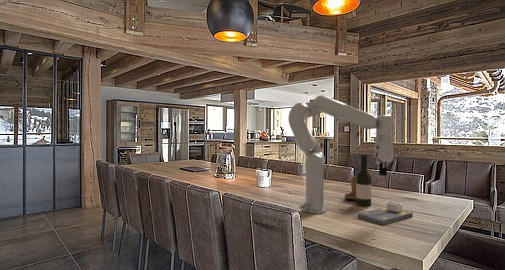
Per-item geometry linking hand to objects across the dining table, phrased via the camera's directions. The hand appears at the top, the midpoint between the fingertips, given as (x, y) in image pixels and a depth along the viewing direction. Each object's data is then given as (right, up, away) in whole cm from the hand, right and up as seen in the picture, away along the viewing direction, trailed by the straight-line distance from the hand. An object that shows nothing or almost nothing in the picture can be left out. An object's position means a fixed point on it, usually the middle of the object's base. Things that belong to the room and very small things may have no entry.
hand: (382, 175), depth 151 cm
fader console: (+1, -21, 0) cm, 21 cm away
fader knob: (+8, -19, +4) cm, 21 cm away
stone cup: (0, -21, +38) cm, 44 cm away
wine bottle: (-1, -21, +25) cm, 32 cm away
